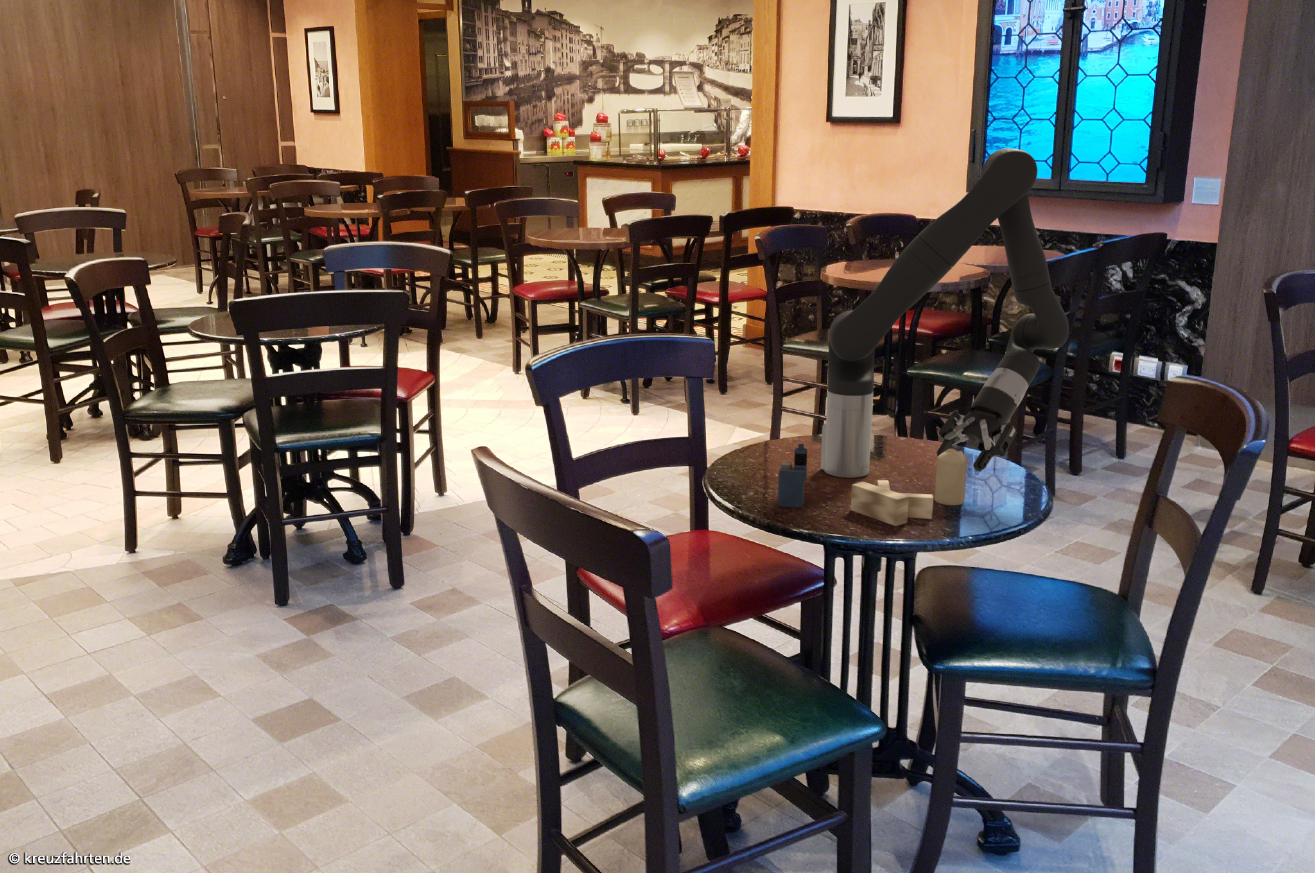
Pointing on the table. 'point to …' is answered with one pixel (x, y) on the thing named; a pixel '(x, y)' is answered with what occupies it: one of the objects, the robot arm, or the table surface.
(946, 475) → the candle
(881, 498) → the letter k block
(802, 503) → the vaping device
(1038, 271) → the robot arm
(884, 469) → the table surface
